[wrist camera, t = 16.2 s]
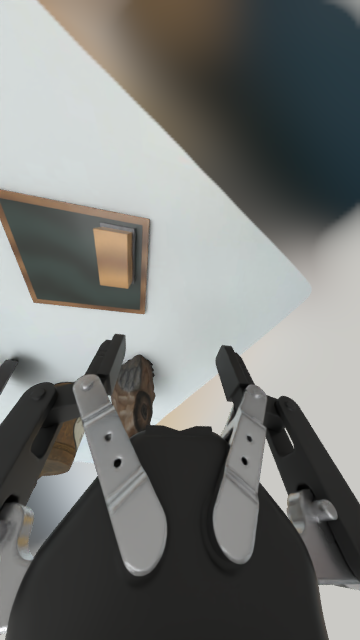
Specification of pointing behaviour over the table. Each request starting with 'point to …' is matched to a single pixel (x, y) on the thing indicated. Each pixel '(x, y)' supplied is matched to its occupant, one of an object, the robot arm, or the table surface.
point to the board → (70, 252)
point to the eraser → (115, 254)
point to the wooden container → (64, 447)
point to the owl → (134, 394)
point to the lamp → (6, 372)
